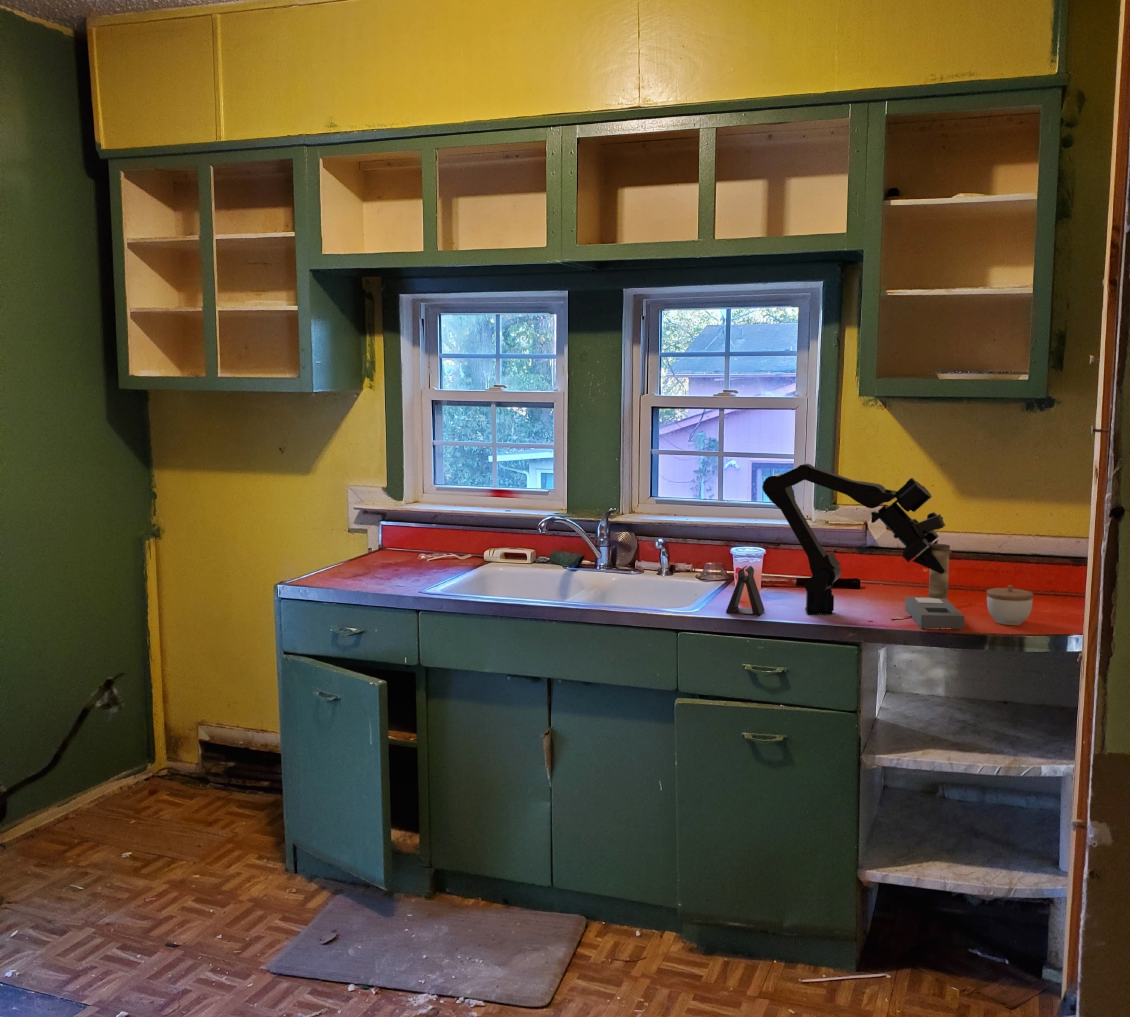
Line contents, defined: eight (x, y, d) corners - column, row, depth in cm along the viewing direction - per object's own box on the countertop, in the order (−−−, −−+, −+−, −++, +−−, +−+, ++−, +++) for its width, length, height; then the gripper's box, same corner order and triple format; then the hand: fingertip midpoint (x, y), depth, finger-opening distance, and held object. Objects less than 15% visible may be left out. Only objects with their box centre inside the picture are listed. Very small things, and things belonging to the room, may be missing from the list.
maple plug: (930, 598, 259) (932, 546, 257) (926, 594, 263) (928, 543, 262) (949, 599, 258) (951, 546, 257) (945, 595, 263) (947, 544, 261)
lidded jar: (1034, 628, 256) (1036, 590, 255) (988, 626, 259) (989, 588, 258) (1028, 618, 267) (1030, 582, 265) (983, 616, 269) (984, 580, 268)
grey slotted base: (920, 629, 256) (921, 614, 256) (905, 609, 278) (905, 595, 277) (963, 630, 255) (964, 615, 254) (944, 610, 276) (944, 596, 276)
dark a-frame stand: (764, 611, 277) (765, 566, 276) (759, 616, 272) (760, 570, 270) (731, 608, 281) (731, 564, 279) (725, 613, 275) (726, 568, 274)
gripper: (918, 507, 252) (965, 555, 248) (931, 499, 268) (975, 544, 264) (883, 537, 256) (929, 585, 252) (898, 527, 273) (941, 573, 269)
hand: (945, 571), depth 259 cm, fingers closed on maple plug, 4 cm apart
